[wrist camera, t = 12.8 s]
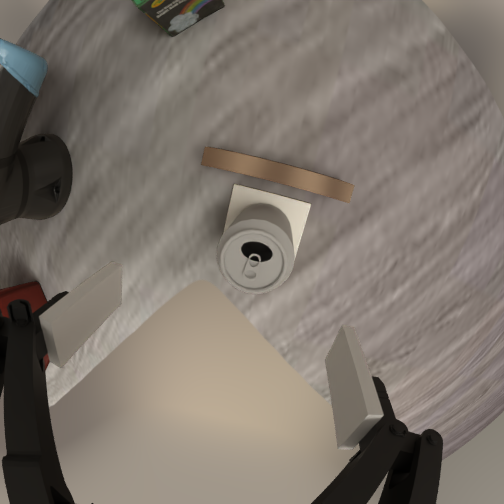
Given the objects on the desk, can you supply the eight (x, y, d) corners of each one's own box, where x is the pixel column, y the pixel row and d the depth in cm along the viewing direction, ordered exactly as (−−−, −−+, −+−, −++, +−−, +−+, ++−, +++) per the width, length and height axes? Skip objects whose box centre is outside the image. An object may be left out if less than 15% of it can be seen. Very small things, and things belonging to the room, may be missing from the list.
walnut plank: (216, 163, 35) (200, 164, 28) (219, 148, 34) (205, 146, 27) (336, 194, 34) (349, 203, 28) (341, 180, 34) (354, 185, 27)
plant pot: (78, 345, 49) (35, 393, 33) (35, 343, 52) (-3, 379, 36) (41, 264, 44) (-17, 300, 28) (4, 276, 47) (-42, 305, 31)
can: (298, 211, 35) (306, 236, 24) (282, 264, 37) (281, 310, 26) (241, 195, 35) (221, 213, 24) (228, 249, 38) (205, 288, 26)
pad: (219, 254, 39) (218, 256, 38) (234, 183, 35) (234, 184, 35) (289, 273, 38) (289, 275, 38) (310, 203, 35) (310, 204, 34)
